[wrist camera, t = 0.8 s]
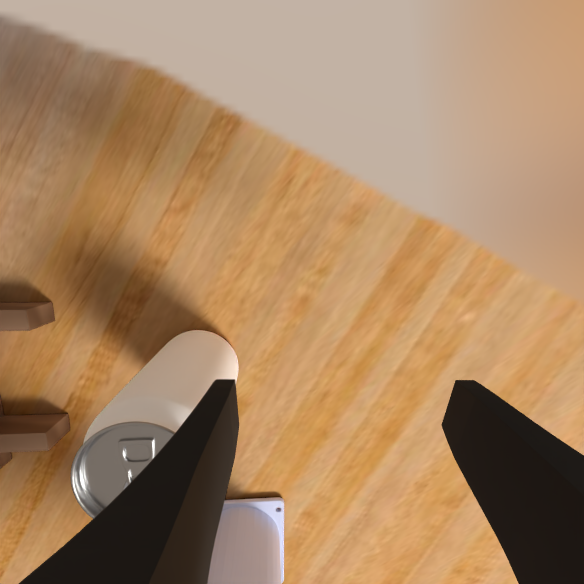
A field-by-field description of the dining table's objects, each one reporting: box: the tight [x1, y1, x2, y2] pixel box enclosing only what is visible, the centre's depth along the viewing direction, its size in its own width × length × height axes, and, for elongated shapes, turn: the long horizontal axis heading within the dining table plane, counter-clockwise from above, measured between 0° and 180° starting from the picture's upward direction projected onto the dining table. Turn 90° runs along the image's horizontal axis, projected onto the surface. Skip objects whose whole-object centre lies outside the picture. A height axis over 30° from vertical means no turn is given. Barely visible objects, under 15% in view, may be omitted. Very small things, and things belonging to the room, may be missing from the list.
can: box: [71, 330, 238, 519], centre depth 19 cm, size 6×6×12 cm
